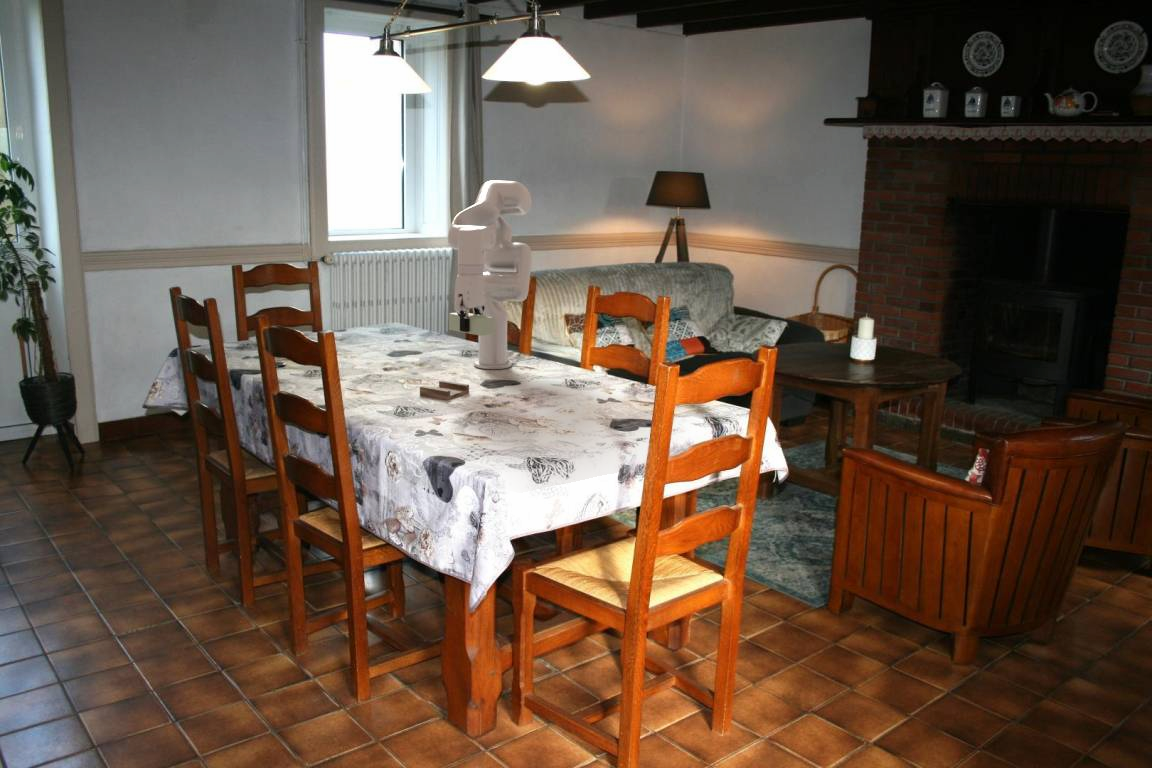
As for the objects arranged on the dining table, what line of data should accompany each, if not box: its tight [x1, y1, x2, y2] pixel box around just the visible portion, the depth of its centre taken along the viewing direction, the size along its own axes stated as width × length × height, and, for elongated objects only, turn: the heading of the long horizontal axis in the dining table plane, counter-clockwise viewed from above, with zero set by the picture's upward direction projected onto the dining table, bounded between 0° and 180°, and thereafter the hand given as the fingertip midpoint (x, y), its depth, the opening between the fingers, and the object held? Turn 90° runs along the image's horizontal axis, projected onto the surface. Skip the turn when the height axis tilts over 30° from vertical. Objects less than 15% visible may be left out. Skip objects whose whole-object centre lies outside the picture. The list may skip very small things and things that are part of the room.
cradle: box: [419, 380, 470, 401], centre depth 290 cm, size 10×10×2 cm
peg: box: [448, 311, 493, 336], centre depth 297 cm, size 5×14×5 cm, turn 49°
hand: (471, 329), depth 298 cm, fingers closed on peg, 5 cm apart
